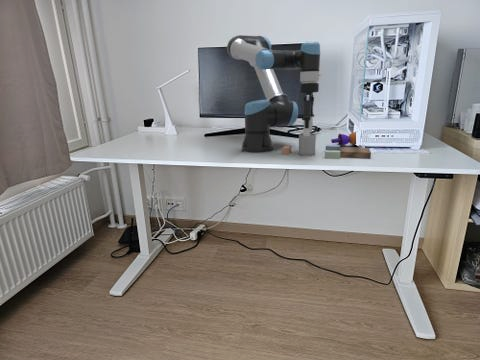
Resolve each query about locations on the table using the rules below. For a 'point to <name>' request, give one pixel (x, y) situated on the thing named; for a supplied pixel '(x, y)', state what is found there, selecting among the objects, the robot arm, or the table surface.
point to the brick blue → (333, 147)
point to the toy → (345, 139)
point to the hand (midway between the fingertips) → (307, 133)
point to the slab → (355, 152)
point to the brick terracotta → (286, 150)
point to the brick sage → (332, 154)
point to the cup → (307, 144)
